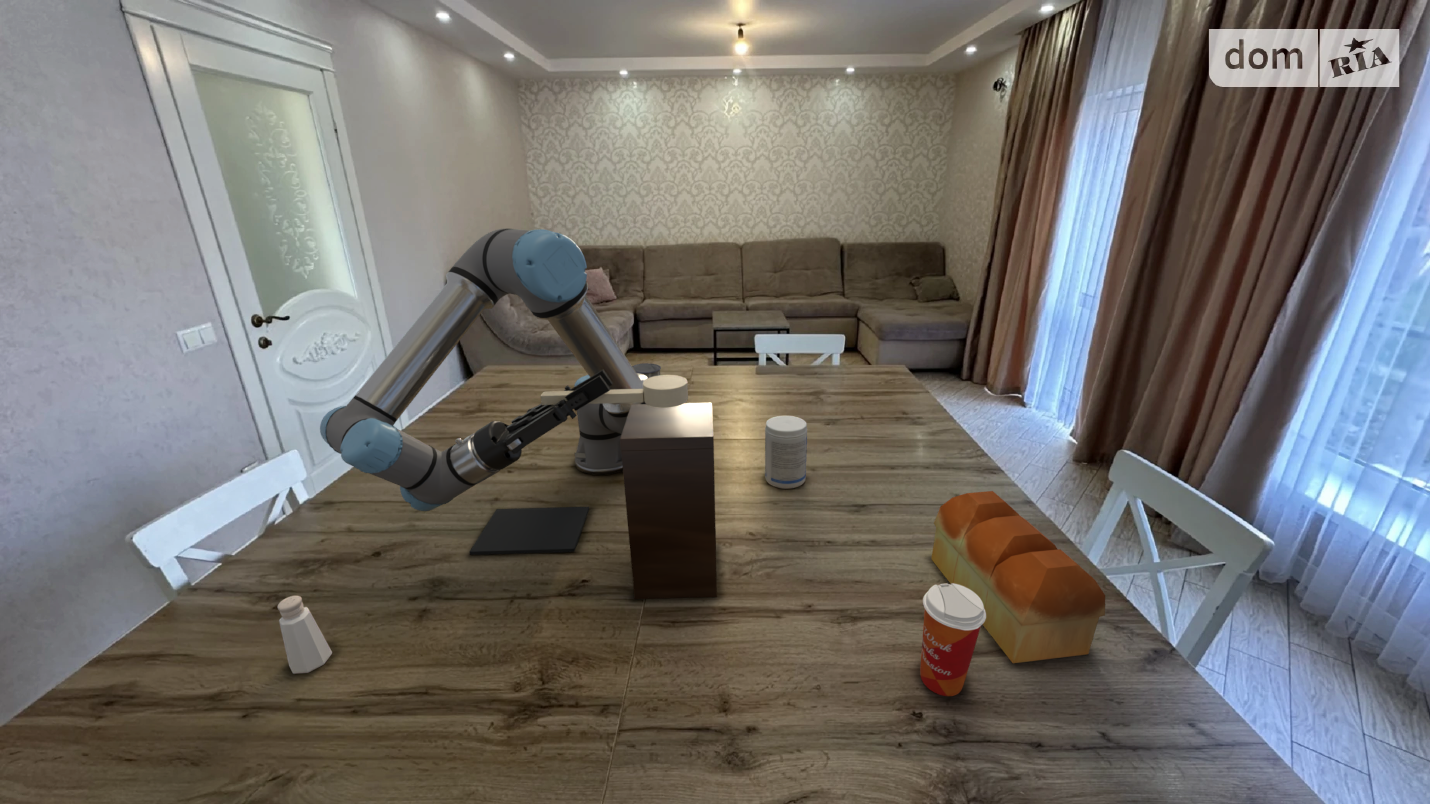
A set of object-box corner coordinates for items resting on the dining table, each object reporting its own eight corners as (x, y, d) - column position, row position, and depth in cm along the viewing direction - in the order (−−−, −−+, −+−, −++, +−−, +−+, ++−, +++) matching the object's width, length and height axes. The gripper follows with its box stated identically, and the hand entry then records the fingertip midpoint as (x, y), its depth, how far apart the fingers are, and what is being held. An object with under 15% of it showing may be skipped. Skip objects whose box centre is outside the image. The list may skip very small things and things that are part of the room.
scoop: (548, 395, 90) (546, 377, 89) (688, 391, 91) (687, 374, 90) (537, 411, 84) (534, 393, 83) (687, 407, 84) (686, 388, 83)
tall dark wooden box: (642, 548, 106) (631, 404, 95) (715, 546, 106) (712, 402, 95) (634, 599, 93) (619, 438, 82) (717, 596, 93) (713, 436, 82)
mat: (497, 512, 119) (496, 508, 119) (589, 509, 119) (589, 506, 119) (469, 555, 105) (469, 551, 105) (574, 552, 106) (574, 548, 105)
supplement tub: (813, 482, 128) (817, 425, 123) (782, 494, 124) (784, 435, 118) (786, 466, 136) (788, 411, 131) (756, 477, 131) (756, 420, 126)
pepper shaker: (341, 650, 84) (321, 592, 80) (306, 679, 79) (283, 618, 75) (315, 642, 85) (294, 585, 81) (280, 669, 81) (255, 610, 77)
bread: (1092, 656, 80) (1117, 573, 75) (1012, 665, 79) (1032, 582, 73) (991, 551, 103) (1005, 482, 98) (928, 557, 102) (938, 488, 97)
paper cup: (903, 659, 80) (914, 582, 75) (954, 655, 81) (968, 578, 76) (927, 706, 73) (941, 624, 68) (982, 701, 74) (1000, 619, 68)
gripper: (453, 454, 82) (582, 376, 78) (489, 415, 96) (600, 346, 92) (486, 491, 84) (612, 417, 80) (517, 447, 98) (626, 382, 94)
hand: (606, 380), depth 86 cm, fingers closed on scoop, 2 cm apart
